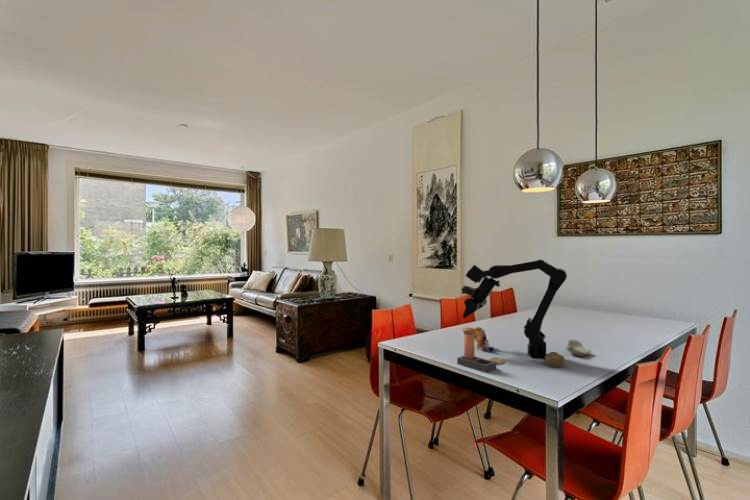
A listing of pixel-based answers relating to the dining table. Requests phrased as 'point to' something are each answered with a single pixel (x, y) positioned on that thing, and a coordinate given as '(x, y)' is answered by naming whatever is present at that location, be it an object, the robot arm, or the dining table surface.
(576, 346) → the pottery shard
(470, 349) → the plug
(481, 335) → the toy
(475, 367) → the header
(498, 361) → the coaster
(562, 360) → the stone
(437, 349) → the dining table surface
